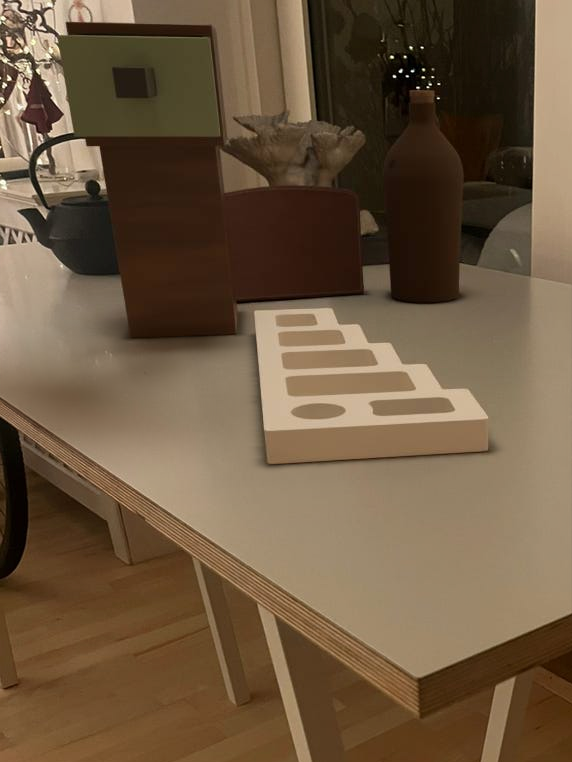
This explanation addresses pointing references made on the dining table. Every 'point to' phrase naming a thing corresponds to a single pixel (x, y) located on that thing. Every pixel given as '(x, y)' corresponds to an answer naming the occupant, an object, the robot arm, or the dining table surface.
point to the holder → (353, 395)
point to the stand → (169, 214)
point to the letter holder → (295, 242)
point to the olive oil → (423, 208)
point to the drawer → (140, 86)
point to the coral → (305, 162)
